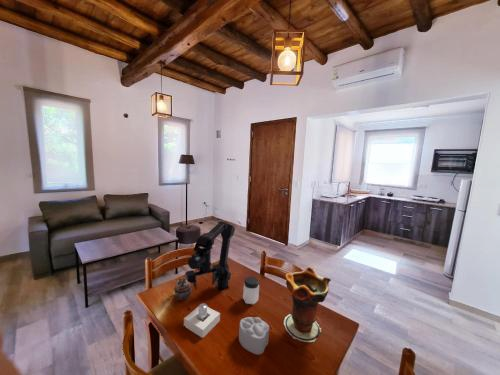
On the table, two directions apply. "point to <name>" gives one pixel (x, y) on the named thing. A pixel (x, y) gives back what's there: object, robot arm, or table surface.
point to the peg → (202, 312)
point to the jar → (251, 290)
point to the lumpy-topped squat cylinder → (253, 334)
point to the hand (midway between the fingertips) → (204, 287)
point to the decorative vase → (305, 303)
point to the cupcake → (182, 290)
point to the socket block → (199, 326)
